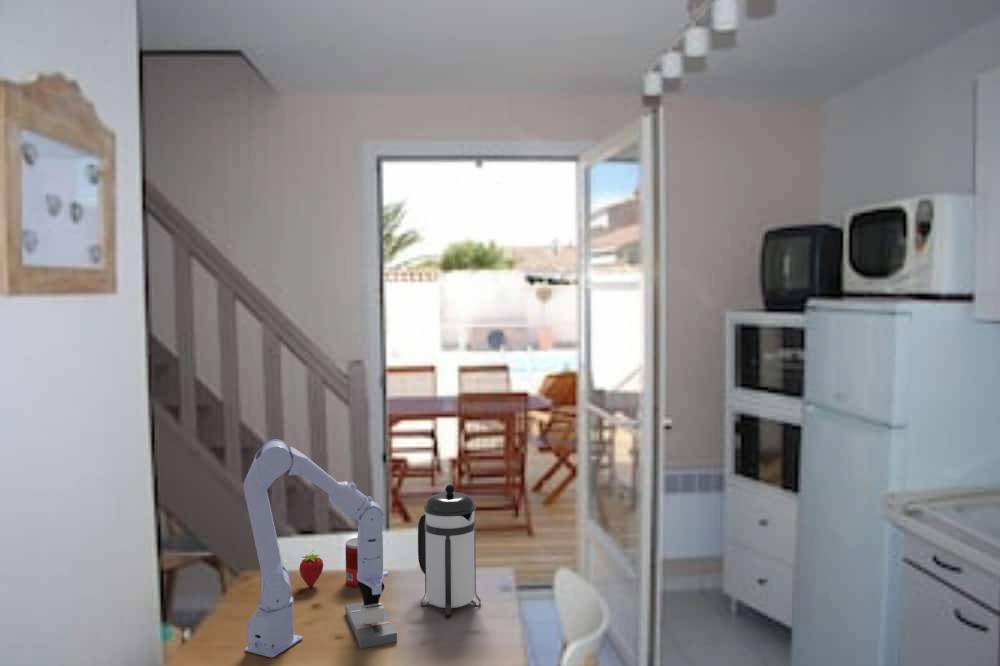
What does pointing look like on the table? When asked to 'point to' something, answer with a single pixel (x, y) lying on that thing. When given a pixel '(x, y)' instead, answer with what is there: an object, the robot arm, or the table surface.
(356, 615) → the fader board
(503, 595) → the table surface
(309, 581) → the strawberry
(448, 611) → the coffee press
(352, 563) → the canned food
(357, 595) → the table surface
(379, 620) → the fader knob
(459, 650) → the table surface
